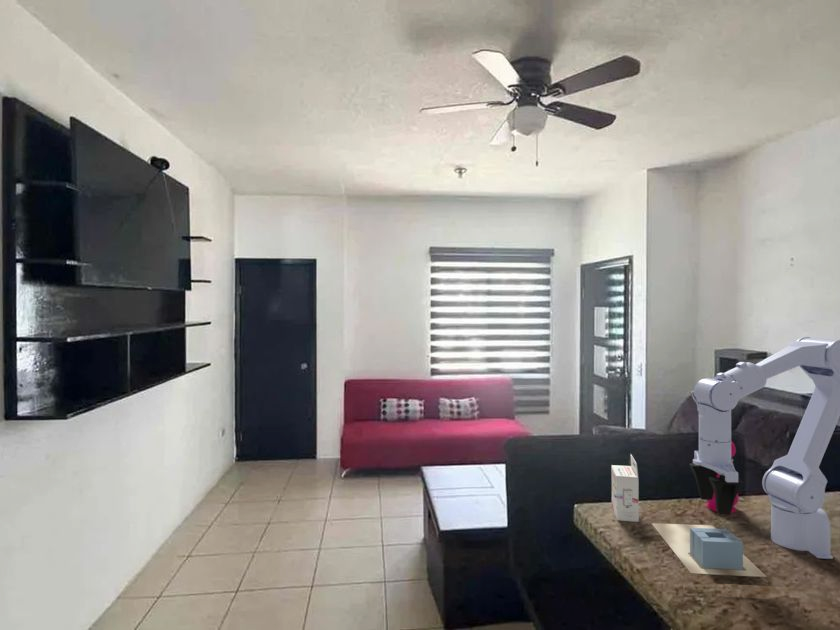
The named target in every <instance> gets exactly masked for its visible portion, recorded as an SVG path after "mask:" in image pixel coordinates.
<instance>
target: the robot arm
mask: <svg viewBox="0 0 840 630" xmlns="http://www.w3.org/2000/svg"><path fill="white" fill-rule="evenodd" d="M797 367H799V368H800V369H801V370H802V371H803V372H804V373H805V375H807V377H808V378H809V379H811V380H812V382H813V384H814V385H815V388H814V390H813V392H812V394H811V397H810V398H809V399H810V400H809V402H808V405H807V407H806V409H805V411H804V414H803V416H802V419H801V421H800V423H799V425H798V426H799V427H798V428H797V431H796V433H795V436H794V438H793V440H792V442H791V445H790V448H789V450H788V453H787V454H786V455H784V456H781V457H779V458H776V459H775V460H774V461H773V463H772V466H771V467H770V468H769V469H768V470H767V471H765V473H764V475H763V477H762V481H761V483H762V484H761V486H762V489H763V490H764V492H765V493H766V494H767V495H768V500H769V502H771V503H770V507H771V508H770V512H771V513H770V540H771V541H772V542H773V543H775V544H776V545H778V546H781V547H783V548H786V549H790V550H795V551H804V552H805V551H807V552H809V553H810V554H812V555H813V556H814V557H816V558H817V559H825V560H832V559H833V558H834V556H833V555H832V554H831V522H830V519H829V516H828V514H827V513H826V511H825V510H824V509H823V508H822V506H823V505H824V502H825V498H826V493H825V492H826V487H827V483H828V479H827V478H826V476H825V474H824V473H823V471H821V469H820V465H821V463H822V459H823V457H824V456H825V455H824V454H825V453H826V450H827V448H828V445H829V443H830V441H831V438H832V436H833V434H834V431H835V430H836V429H835V428H837V427H836V426H837V424H838V421H839V419H840V339H831V338H830V339H829V338H817V337H809V336H803V337H800V338H798V339H797V340H793V341H790V342H789V344H788V346H785V347H784V348H782V349H781V350H778V351H777V352H775V353H774V354H772V355H770V356H768V357H766V358H765V359H762V360H761V361H759V362H757V363H752V362H751V361H750V362H749V361H748V362H745V361H739V362H738V363H736V364H735V367H734V368H731V369H729V370H727V371H725V372H719V373H716V376H715V377H714V378H709V377H707V378H705V377H704V378H702V379H700V380H698V381H697V383H696V384H695V386H694V388H693V389H694V390H691V397H692V399H693V401H694V402H695V404H696V408H697V412H698V450H694V453H693V456H694V457H693V459H692V462H691V463H689V465H688V466H689V469H690V470H691V471H692V474H693V476H694V478H695V482H696V485H697V486H696V487H697V490H698V495H699V498H700V500H703V501H707V500H712V499H713V495H714V494H715V501H716V508H717V511H716V512H717V514H719V515H724V516H725V515H731V514H732V513H731V511H732V507H733V504H734V501H735V498H736V496H737V494H738V495H739V492H740V490H741V489H742V487H743V486H744V481H742V479H740V478H739V472H738V471H736V468H735V465H734V463H732V462H731V441H732V410H734V409H735V407H736V406H737V405H738V404H739V401H740V400H741V399H742V398H744V397H746V396H748V395H750V394H752V393H753V394H754V392H756V391H758V390H761V389H763V388H764V387H766V385H767V379H770V378H773V377H775V376H777V375H780V374H783V373H785V372H788V371H789V370H792V369H795V368H797ZM717 474H719V475H720V478H719V477H717ZM798 474H799V475H798ZM801 475H802V476H801ZM833 560H834V559H833Z"/></svg>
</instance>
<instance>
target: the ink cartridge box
mask: <svg viewBox="0 0 840 630" xmlns="http://www.w3.org/2000/svg"><path fill="white" fill-rule="evenodd" d="M630 464H631V465H619V464H618V465H617V464H616V465H615V464H614V465H613V464H611V468H610V469H611V471H610V472H611V508H612V511H613V512H614V517H615V518H616V520H617V521H622V522H625V521H626V522H637V523H638V522H640V520H639V519H640V511H639V507H640V505H639V504H640V503H639V501H640V499H639V498H640V497H639V493H640V491H639V489H640V488H639V485H640V484H639V471H638V470H639V469H638V463H637V462H636V460H635V458H634V456H633V455H632V453H630Z"/></svg>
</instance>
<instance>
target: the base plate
mask: <svg viewBox="0 0 840 630" xmlns="http://www.w3.org/2000/svg"><path fill="white" fill-rule="evenodd" d="M651 525H652V526H653V527H654V529H655V530H656V531H657V532H658V534H659V535H660V536H661V538H662V539H663V540H664V541H665V542H666V544H667V545H668V546H669V548H670V549H671V550H672V551H673V553H674V554H675V555H676V556H677V558H678V559H679V560H680V561H681V563H682V564H683V566H684V567H685V568H686V569H687V570H688V572H689V573H690V574H693V575H694V574H698V575H715V576H716V575H717V576H736V577H737V576H738V577H758V578H759V577H760V578H768V576H767V575H766V574H765V573H763V571H761V570H760V568H758V567H757V565H755V564H754V563H753V562H752V561H751V560H750V559H749V558H748V557H747V556H746V555H745V554H743V570H738V569H716V568H703V567H702V566H701V565H700V564H699V563H698V562H697V560H696V559H695V558H694V557H693V556H692V555H691V553H690V528H711V529H717V528H716V527H715V526H714V525H710V524H686V523H685V524H683V523H657V522H656V523H655V522H651Z"/></svg>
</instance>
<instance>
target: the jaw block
mask: <svg viewBox="0 0 840 630" xmlns="http://www.w3.org/2000/svg"><path fill="white" fill-rule="evenodd" d="M690 553H691V555H692V556H693V557H694V558H695V559H696V560H697V562H698V563H699V564H700V565H701V566H702V567H703V568H716V569H738V570H743V555H744V542H743V541H742V540H740V538H738V537H737V536H736V535H735V534H734V533H733V532H732V531H730V530H729V528H727V529H726V528H716V529H711V528H690Z"/></svg>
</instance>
